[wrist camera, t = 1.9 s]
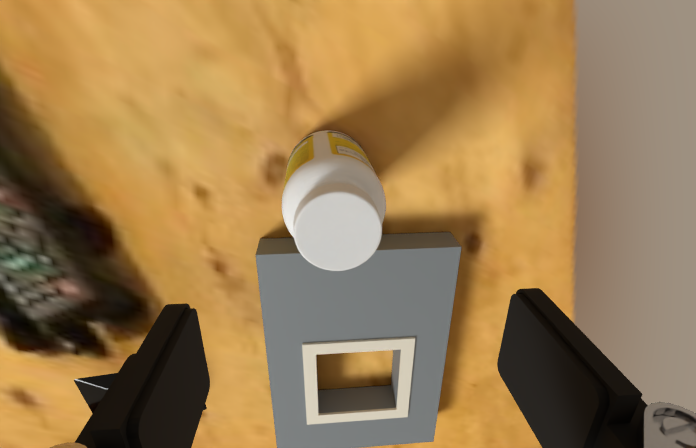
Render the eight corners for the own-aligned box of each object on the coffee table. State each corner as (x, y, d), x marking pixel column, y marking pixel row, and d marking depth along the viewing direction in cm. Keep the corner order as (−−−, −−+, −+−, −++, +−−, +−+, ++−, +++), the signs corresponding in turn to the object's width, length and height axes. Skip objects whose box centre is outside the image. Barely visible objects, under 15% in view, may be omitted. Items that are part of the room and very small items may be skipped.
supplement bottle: (296, 212, 27) (289, 293, 18) (280, 135, 25) (262, 184, 16) (372, 200, 27) (402, 274, 18) (363, 122, 25) (392, 164, 16)
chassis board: (259, 238, 27) (255, 256, 25) (450, 231, 28) (462, 248, 26) (279, 429, 36) (277, 456, 33) (426, 418, 37) (434, 443, 34)
